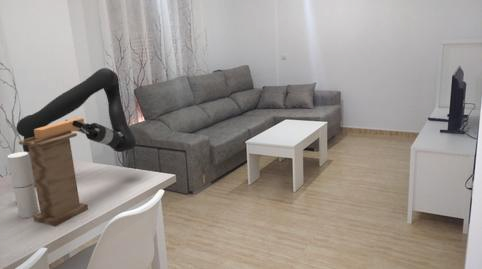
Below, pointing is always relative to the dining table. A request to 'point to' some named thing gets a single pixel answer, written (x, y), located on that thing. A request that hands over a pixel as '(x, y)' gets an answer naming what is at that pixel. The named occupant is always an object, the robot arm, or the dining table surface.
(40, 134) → the orange bar
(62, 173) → the walnut stand
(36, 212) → the cylindrical container
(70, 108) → the robot arm
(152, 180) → the dining table surface
